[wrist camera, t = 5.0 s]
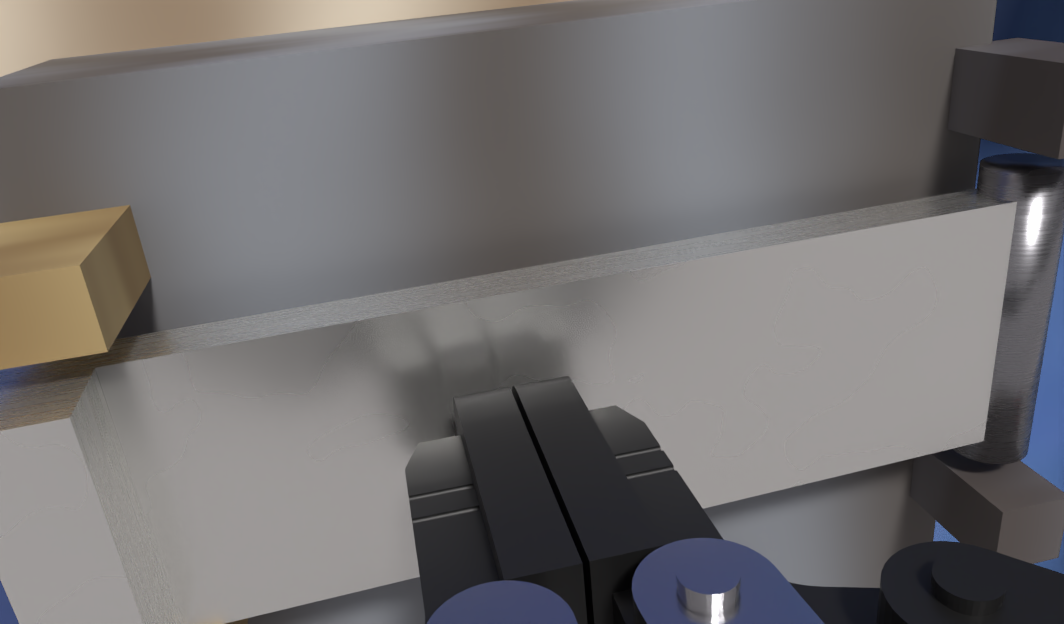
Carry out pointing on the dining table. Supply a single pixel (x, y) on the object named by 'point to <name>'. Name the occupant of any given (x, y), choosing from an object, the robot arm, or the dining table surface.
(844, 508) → the heat sink base
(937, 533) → the dining table surface
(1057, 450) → the dining table surface
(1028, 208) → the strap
